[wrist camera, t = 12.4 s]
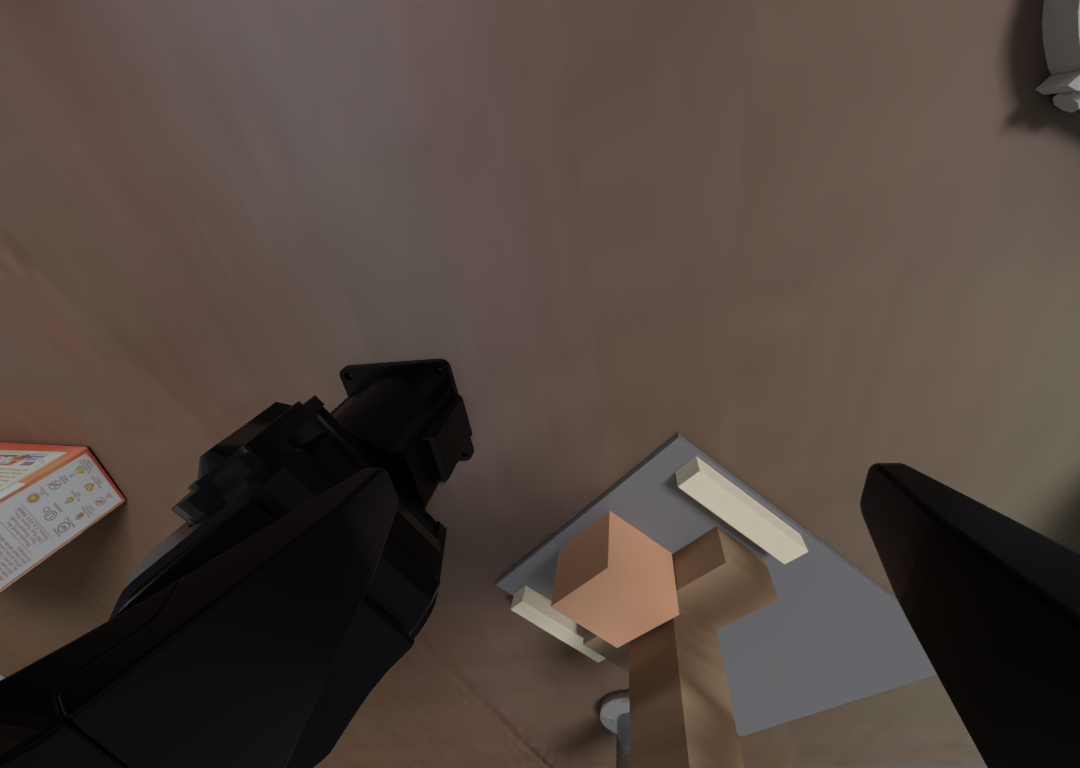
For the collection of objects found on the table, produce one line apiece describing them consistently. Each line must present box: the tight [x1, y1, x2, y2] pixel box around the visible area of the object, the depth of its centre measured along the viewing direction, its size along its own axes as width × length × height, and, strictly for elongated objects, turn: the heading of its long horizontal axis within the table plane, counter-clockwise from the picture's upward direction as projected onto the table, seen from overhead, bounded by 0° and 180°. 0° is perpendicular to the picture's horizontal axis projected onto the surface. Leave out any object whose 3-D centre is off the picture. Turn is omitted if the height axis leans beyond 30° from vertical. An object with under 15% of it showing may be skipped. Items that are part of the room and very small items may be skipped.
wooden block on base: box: [583, 526, 779, 768], centre depth 23 cm, size 4×12×12 cm, turn 144°
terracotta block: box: [551, 511, 679, 648], centre depth 25 cm, size 5×5×4 cm
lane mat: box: [496, 433, 937, 736], centre depth 28 cm, size 25×18×2 cm
